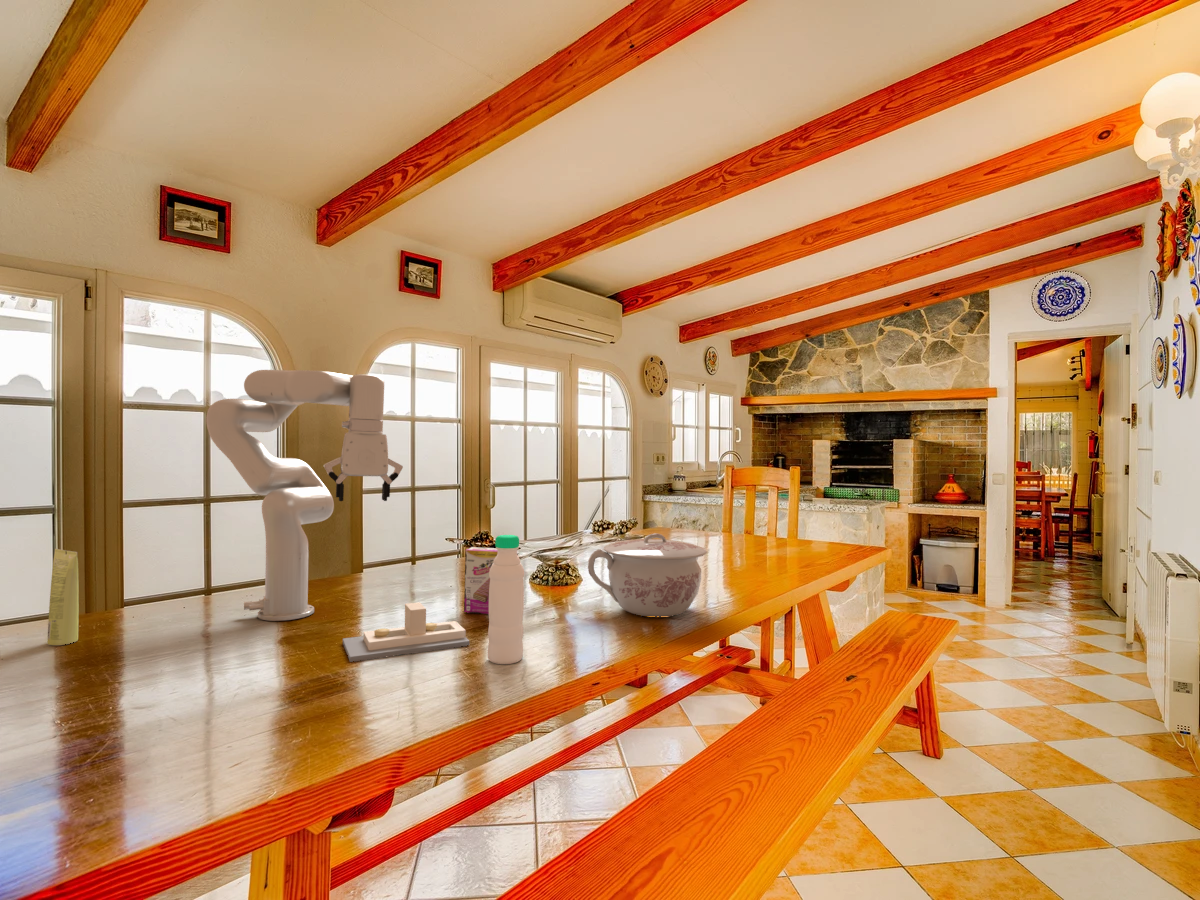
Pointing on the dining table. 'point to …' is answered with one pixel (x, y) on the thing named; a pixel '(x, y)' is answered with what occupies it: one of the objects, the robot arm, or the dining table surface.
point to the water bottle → (506, 603)
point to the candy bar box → (478, 579)
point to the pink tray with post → (414, 631)
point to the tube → (64, 599)
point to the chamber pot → (651, 574)
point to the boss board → (360, 651)
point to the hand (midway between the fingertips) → (363, 500)
